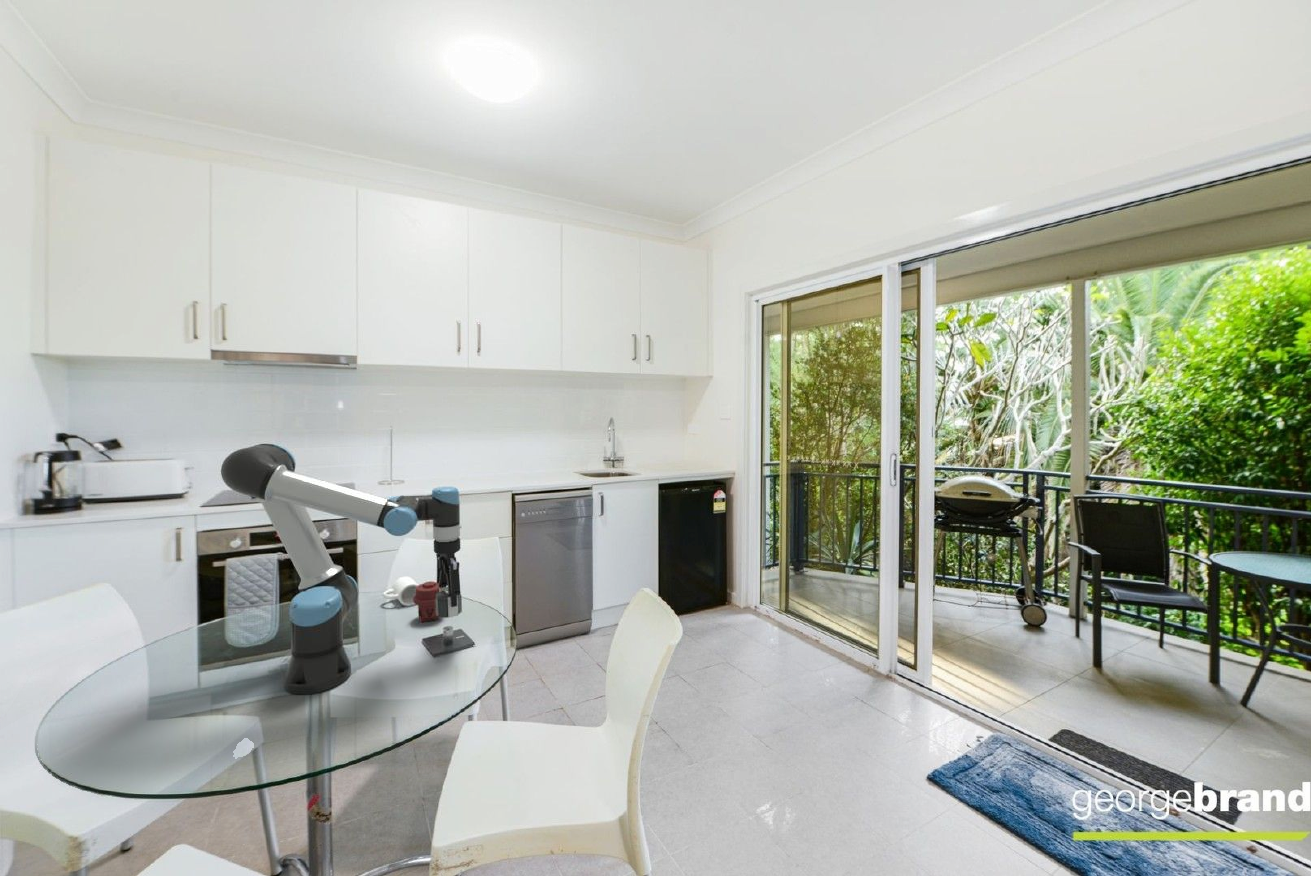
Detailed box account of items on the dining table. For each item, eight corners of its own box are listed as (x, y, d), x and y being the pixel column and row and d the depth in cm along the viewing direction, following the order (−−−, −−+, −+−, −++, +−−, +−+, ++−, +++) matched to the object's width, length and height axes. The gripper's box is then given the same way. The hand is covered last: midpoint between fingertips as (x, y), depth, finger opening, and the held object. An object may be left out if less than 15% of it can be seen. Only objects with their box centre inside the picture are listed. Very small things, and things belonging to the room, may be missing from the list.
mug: (414, 594, 204) (414, 574, 203) (423, 603, 196) (422, 581, 196) (380, 602, 196) (379, 581, 196) (387, 611, 189) (386, 589, 188)
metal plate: (434, 657, 157) (433, 640, 157) (422, 641, 167) (421, 626, 166) (474, 645, 165) (474, 629, 164) (461, 631, 174) (460, 616, 174)
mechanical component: (423, 611, 189) (450, 613, 188) (407, 623, 179) (436, 625, 178) (422, 577, 188) (450, 579, 187) (406, 587, 178) (435, 589, 177)
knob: (464, 613, 164) (463, 593, 164) (440, 619, 160) (440, 599, 159) (456, 606, 170) (456, 587, 169) (433, 611, 165) (432, 592, 165)
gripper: (471, 543, 157) (473, 619, 160) (448, 529, 173) (450, 599, 175) (445, 548, 153) (447, 626, 155) (424, 533, 168) (426, 604, 170)
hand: (448, 611), depth 165 cm, fingers closed on knob, 7 cm apart
